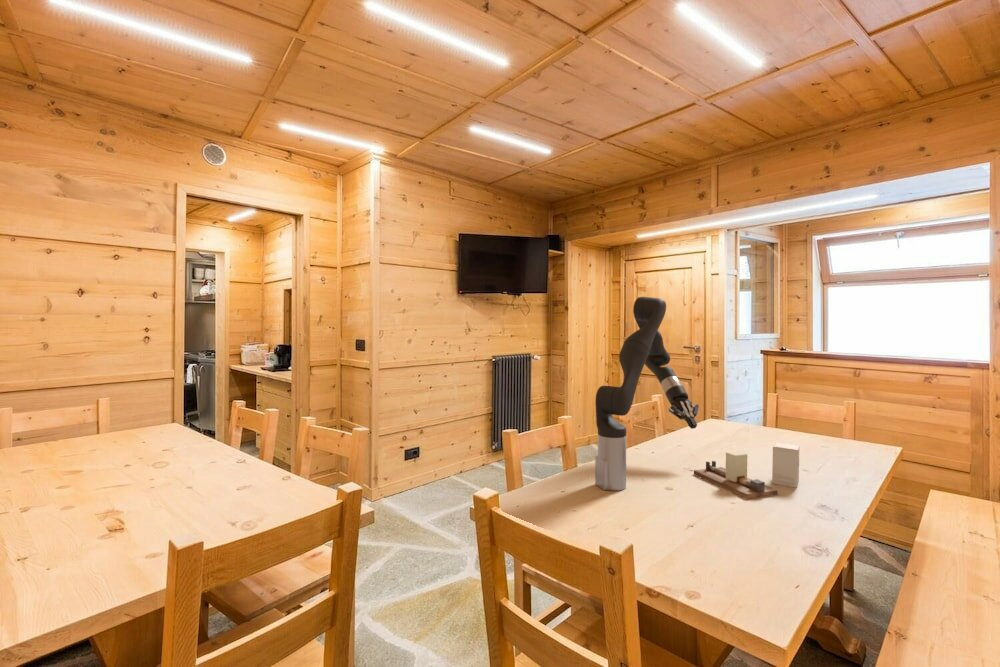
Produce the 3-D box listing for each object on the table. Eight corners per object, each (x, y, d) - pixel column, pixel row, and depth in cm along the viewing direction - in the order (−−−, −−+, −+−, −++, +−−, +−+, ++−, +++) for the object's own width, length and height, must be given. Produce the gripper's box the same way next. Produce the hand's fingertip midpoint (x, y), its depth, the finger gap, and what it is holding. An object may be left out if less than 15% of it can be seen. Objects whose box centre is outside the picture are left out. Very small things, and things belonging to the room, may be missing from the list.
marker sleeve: (734, 482, 152) (735, 455, 152) (725, 478, 156) (725, 452, 156) (747, 480, 153) (747, 454, 153) (737, 476, 157) (738, 451, 157)
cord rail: (746, 499, 143) (747, 484, 143) (693, 474, 166) (693, 461, 166) (777, 494, 146) (777, 480, 146) (721, 471, 169) (721, 459, 169)
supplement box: (797, 488, 152) (798, 450, 152) (771, 483, 156) (772, 446, 156) (799, 482, 158) (800, 445, 157) (774, 477, 162) (774, 441, 162)
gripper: (663, 385, 181) (684, 422, 170) (692, 383, 185) (714, 420, 173) (655, 396, 186) (674, 433, 175) (683, 395, 190) (704, 431, 179)
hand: (694, 427), depth 174 cm, fingers closed
